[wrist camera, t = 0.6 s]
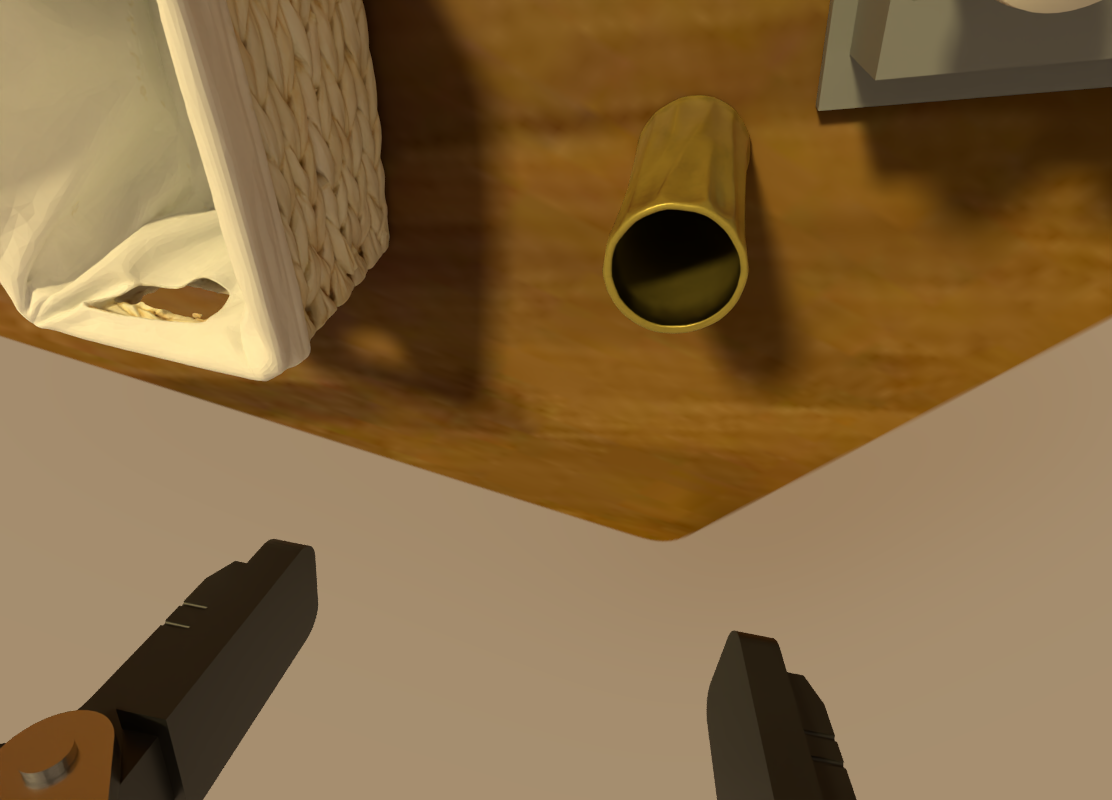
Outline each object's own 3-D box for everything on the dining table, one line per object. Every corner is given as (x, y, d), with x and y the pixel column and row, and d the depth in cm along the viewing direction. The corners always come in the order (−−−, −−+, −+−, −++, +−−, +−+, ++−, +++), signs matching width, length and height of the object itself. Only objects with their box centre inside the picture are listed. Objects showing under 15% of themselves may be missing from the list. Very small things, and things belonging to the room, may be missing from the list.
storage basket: (407, 270, 40) (286, 398, 29) (203, 227, 42) (16, 333, 31) (367, -225, 25) (72, -351, 14) (44, -260, 26) (-450, -396, 15)
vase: (690, 66, 28) (668, 148, 18) (776, 147, 30) (802, 269, 19) (614, 163, 32) (558, 279, 22) (693, 231, 34) (677, 371, 23)
